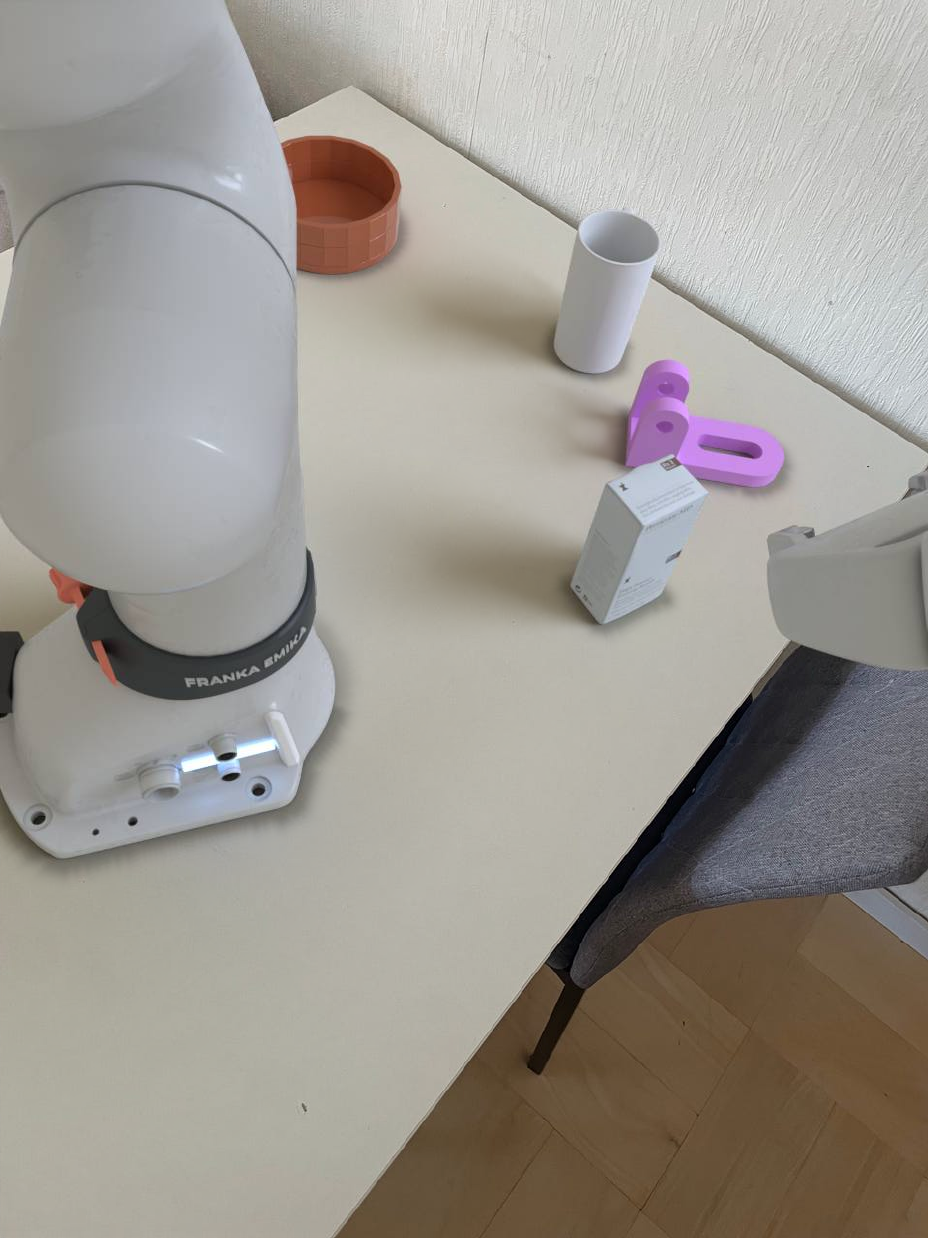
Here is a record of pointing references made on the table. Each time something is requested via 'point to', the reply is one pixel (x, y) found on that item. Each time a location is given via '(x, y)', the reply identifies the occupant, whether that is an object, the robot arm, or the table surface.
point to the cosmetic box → (636, 537)
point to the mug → (604, 288)
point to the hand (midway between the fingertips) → (851, 515)
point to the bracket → (695, 433)
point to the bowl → (342, 203)
